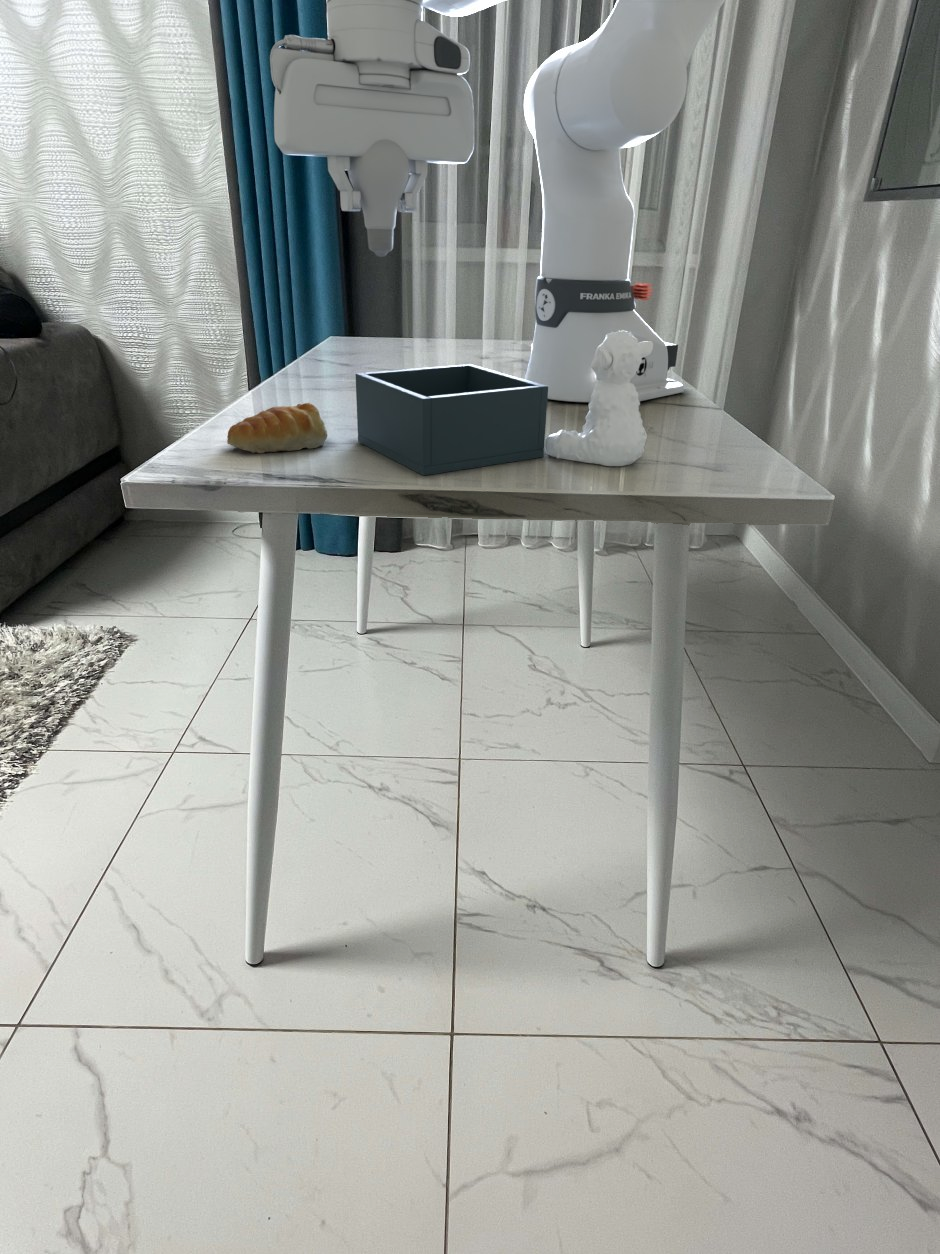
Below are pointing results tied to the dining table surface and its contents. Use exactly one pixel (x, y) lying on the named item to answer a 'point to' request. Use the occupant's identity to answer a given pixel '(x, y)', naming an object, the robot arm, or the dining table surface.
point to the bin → (451, 417)
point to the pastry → (280, 430)
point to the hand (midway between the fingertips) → (380, 211)
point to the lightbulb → (380, 190)
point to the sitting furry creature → (609, 408)
